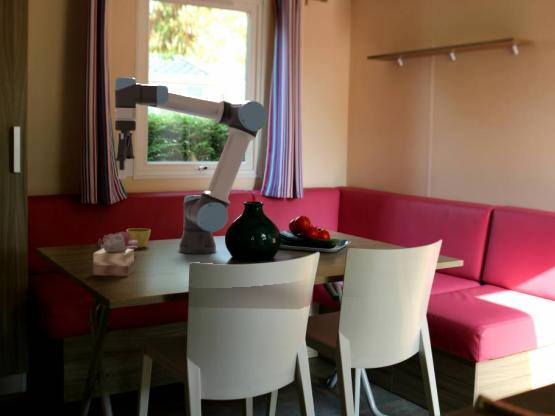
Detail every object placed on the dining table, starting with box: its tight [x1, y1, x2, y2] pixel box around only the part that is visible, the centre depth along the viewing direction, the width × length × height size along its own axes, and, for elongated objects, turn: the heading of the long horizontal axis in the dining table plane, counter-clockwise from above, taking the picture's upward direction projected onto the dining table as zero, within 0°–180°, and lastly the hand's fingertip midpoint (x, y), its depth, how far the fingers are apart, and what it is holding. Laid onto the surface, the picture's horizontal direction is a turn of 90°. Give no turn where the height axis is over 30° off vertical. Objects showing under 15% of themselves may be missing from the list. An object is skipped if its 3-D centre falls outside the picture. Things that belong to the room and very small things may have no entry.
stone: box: [103, 234, 127, 252], centre depth 254 cm, size 8×10×6 cm
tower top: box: [92, 248, 135, 266], centre depth 254 cm, size 11×11×4 cm
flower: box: [97, 231, 138, 251], centre depth 283 cm, size 15×15×10 cm
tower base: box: [92, 259, 136, 277], centre depth 254 cm, size 12×12×4 cm
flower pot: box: [125, 227, 152, 249], centre depth 306 cm, size 10×10×7 cm
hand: (125, 177), depth 270 cm, fingers open, 13 cm apart
